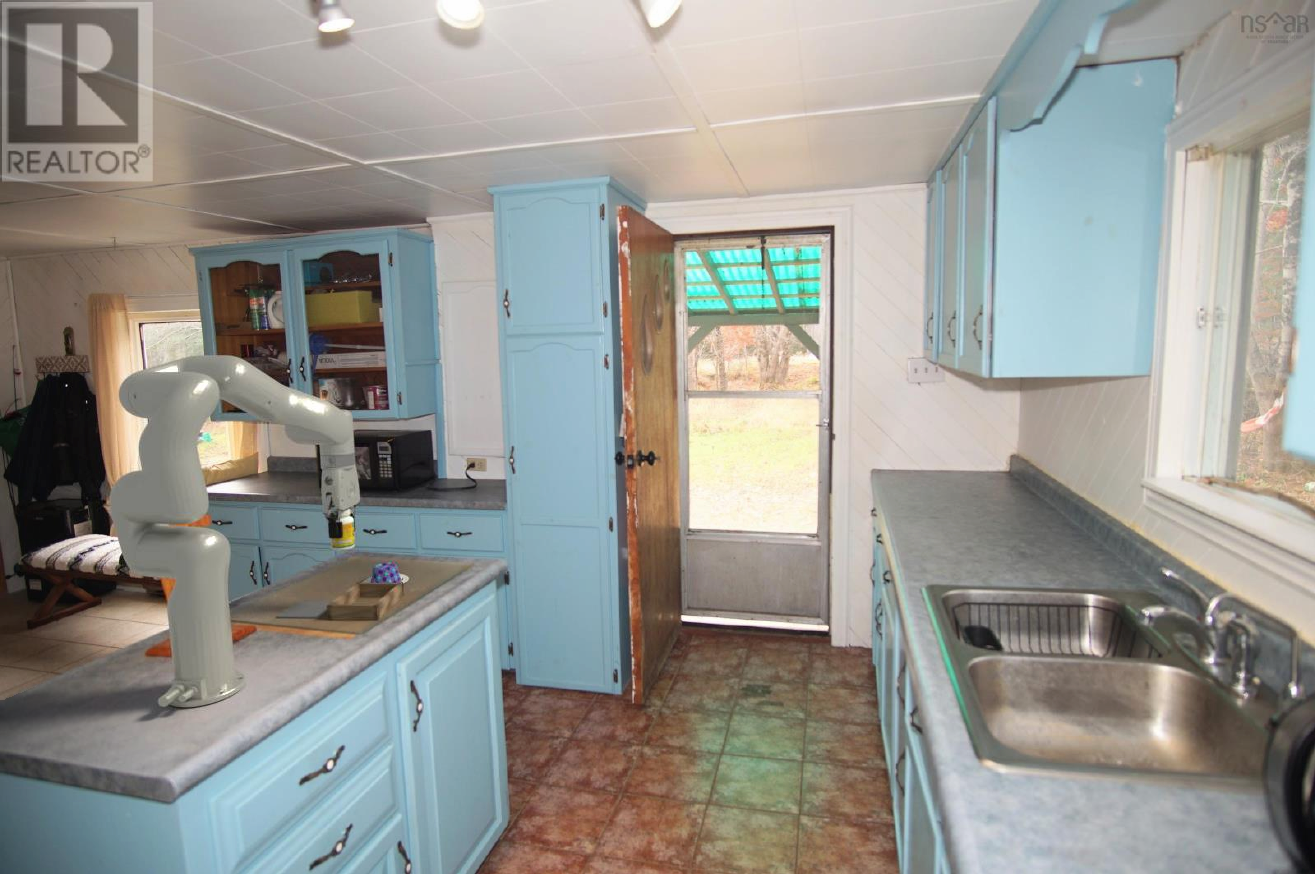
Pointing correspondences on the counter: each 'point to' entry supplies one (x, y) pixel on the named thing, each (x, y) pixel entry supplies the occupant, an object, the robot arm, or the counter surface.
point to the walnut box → (349, 611)
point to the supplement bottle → (345, 532)
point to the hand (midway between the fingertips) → (342, 533)
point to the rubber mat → (305, 609)
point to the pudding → (386, 574)
